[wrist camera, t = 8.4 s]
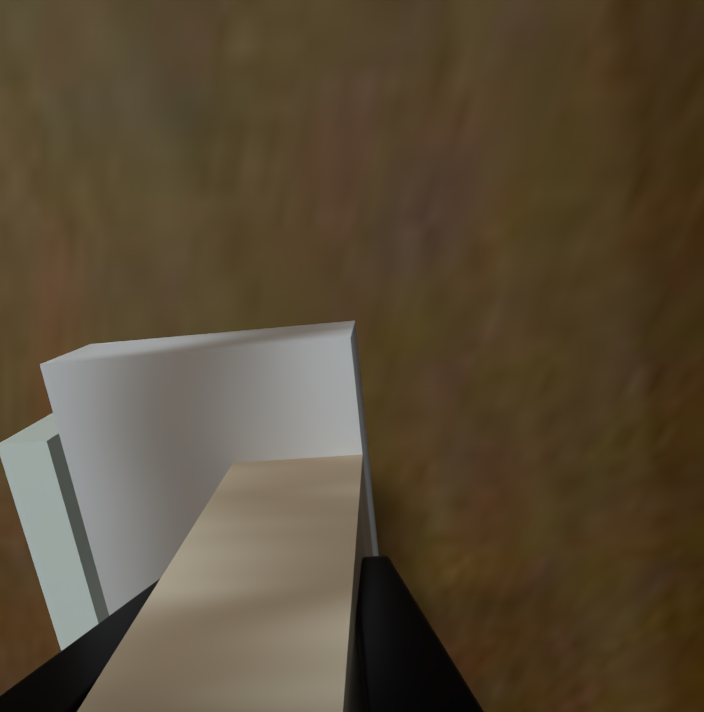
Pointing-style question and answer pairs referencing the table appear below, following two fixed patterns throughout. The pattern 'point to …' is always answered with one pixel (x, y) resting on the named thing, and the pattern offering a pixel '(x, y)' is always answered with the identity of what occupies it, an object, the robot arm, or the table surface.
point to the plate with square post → (224, 514)
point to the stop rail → (54, 529)
